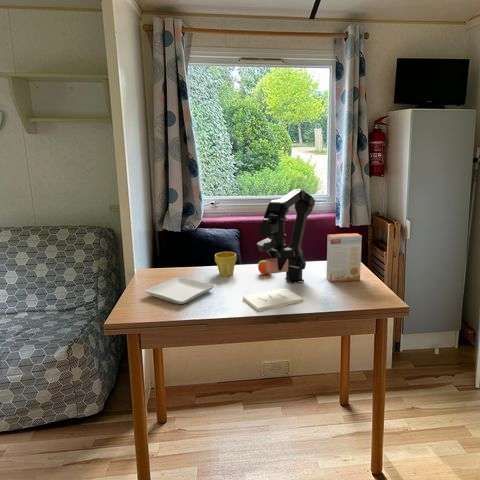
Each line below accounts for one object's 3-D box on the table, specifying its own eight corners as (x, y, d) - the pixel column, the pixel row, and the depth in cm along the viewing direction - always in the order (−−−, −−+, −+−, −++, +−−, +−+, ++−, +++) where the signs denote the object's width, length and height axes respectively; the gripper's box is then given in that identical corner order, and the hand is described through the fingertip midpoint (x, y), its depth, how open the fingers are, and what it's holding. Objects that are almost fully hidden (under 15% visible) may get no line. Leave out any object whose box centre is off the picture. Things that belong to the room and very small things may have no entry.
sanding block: (283, 268, 169) (283, 257, 168) (288, 271, 165) (288, 259, 164) (265, 270, 166) (266, 259, 165) (270, 273, 162) (270, 262, 161)
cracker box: (355, 276, 184) (357, 232, 179) (360, 281, 179) (362, 235, 173) (325, 278, 183) (327, 233, 178) (329, 282, 178) (331, 236, 172)
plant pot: (211, 276, 189) (210, 256, 187) (220, 269, 198) (220, 250, 196) (231, 278, 185) (231, 258, 183) (240, 271, 194) (239, 252, 192)
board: (285, 290, 169) (285, 288, 169) (302, 301, 158) (302, 298, 157) (242, 299, 161) (242, 296, 161) (257, 311, 150) (257, 308, 149)
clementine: (259, 277, 186) (259, 263, 184) (253, 273, 192) (253, 259, 190) (275, 275, 188) (275, 260, 187) (268, 271, 195) (268, 257, 193)
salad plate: (216, 291, 170) (215, 284, 170) (182, 309, 154) (181, 301, 153) (179, 282, 182) (178, 275, 181) (144, 298, 165) (143, 290, 164)
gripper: (250, 229, 167) (250, 265, 171) (269, 238, 150) (269, 278, 154) (273, 227, 171) (273, 261, 175) (295, 235, 155) (294, 274, 158)
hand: (277, 268), depth 165 cm, fingers closed on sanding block, 4 cm apart
